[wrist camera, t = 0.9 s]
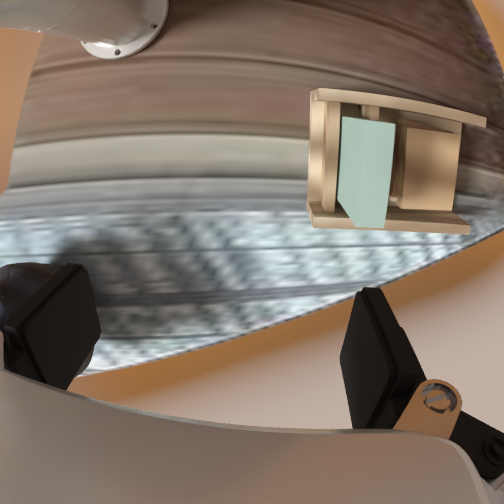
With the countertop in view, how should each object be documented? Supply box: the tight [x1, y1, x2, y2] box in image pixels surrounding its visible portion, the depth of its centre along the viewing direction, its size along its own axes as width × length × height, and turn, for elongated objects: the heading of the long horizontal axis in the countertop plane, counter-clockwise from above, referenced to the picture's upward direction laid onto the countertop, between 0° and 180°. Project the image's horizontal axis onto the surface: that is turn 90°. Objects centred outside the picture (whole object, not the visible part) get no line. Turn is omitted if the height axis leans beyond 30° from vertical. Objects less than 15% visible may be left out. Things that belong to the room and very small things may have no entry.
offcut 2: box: [396, 126, 460, 211], centre depth 31 cm, size 9×7×2 cm
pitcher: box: [0, 262, 94, 377], centre depth 36 cm, size 21×22×25 cm
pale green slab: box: [335, 116, 395, 228], centre depth 30 cm, size 9×3×12 cm, turn 0°
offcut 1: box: [389, 119, 454, 198], centre depth 32 cm, size 9×7×2 cm
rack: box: [306, 88, 486, 235], centre depth 33 cm, size 14×20×7 cm
